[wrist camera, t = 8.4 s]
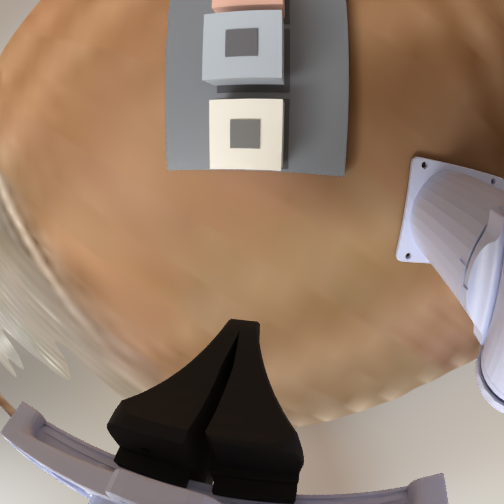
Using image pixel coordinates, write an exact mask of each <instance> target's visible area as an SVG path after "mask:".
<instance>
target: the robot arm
mask: <svg viewBox="0 0 504 504" xmlns="http://www.w3.org/2000/svg"><path fill="white" fill-rule="evenodd" d="M423 162H425V164H426V165H425V167H424V168H422V163H423ZM492 179H493V182H492V183H491V180H492ZM407 253H410V255H409V256H408V257H405V256H406V254H407ZM396 258H397V259H398V260H399V261H404V262H418V263H431V264H432V266H433V267H434V268H435V269H436V271H437V272H438V273H439V275H440V276H441V277H442V279H443V280H444V281H445V283H446V284H447V285H448V287H449V288H450V289H451V291H452V292H453V293H454V295H455V296H456V298H457V299H458V300H459V302H460V303H461V305H462V306H463V308H464V309H465V311H466V312H467V313H468V315H469V317H470V318H471V320H472V321H473V323H474V330H473V332H474V334H475V335H476V337H477V339H478V340H479V342H480V344H481V345H482V347H481V349H480V352H479V355H478V357H477V361H476V380H477V383H478V387H479V389H480V391H481V393H482V395H483V396H484V398H485V399H486V401H487V402H488V403H489V404H490V405H491V406H493V407H494V408H495V409H497V410H498V411H500V412H502V413H504V179H503V178H501V177H498V176H495V175H491V174H488V173H484V172H481V171H477V170H474V169H470V168H466V167H462V166H458V165H454V164H450V163H446V162H441V161H437V160H432V159H427V158H422V157H414V158H413V159H412V160H411V165H410V174H409V182H408V189H407V196H406V202H405V209H404V214H403V220H402V225H401V231H400V236H399V241H398V245H397V250H396ZM259 336H260V324H259V323H258V322H255V321H245V320H236V319H230V320H229V321H228V322H227V323H226V325H225V326H224V327H223V329H222V330H221V331H220V332H219V334H218V335H217V336H216V337H215V338H214V339H213V340H212V341H211V343H210V344H209V345H208V346H207V347H206V348H205V349H204V350H203V351H202V352H201V353H200V354H199V355H198V356H197V357H196V358H194V359H193V360H192V361H191V362H190V363H189V364H187V365H186V366H185V367H184V368H182V369H181V370H180V371H178V372H177V373H176V374H174V375H173V376H171V377H170V378H168V379H167V380H165V381H163V382H162V383H160V384H158V385H156V386H154V387H153V388H151V389H149V390H147V391H145V392H143V393H140V394H138V395H135V396H133V397H130V398H128V399H125V400H122V401H121V403H120V404H119V405H118V407H117V408H116V410H115V411H114V413H113V415H112V417H111V418H110V420H109V422H108V424H107V429H108V431H109V433H110V434H111V436H112V437H113V438H114V440H115V441H116V442H117V443H118V445H119V446H120V448H119V450H118V452H117V454H116V456H115V455H113V454H110V453H108V452H106V451H103V450H101V449H99V448H97V447H94V446H92V445H90V444H88V443H86V442H84V441H82V440H80V439H78V438H76V437H74V436H72V435H70V434H68V433H67V432H65V431H63V430H61V429H59V428H57V427H56V426H54V425H52V424H51V423H49V422H47V421H46V420H45V418H44V417H43V416H42V415H41V413H40V412H38V411H37V410H36V409H34V408H33V407H31V406H30V405H28V404H27V403H25V402H22V403H21V404H20V405H19V407H18V408H17V409H16V411H15V412H14V414H13V415H12V416H11V418H10V419H9V421H8V422H7V424H6V425H5V427H4V428H3V429H2V431H1V432H0V433H1V435H2V436H3V437H4V438H5V439H6V440H7V441H8V442H9V443H10V444H11V445H12V446H13V447H15V448H16V449H17V450H18V451H19V452H20V453H21V454H22V455H23V456H25V457H26V458H27V459H28V460H30V461H31V462H32V463H34V464H35V465H36V466H38V467H39V468H41V469H42V470H44V471H45V472H46V473H48V474H49V475H51V476H52V477H54V478H56V479H57V480H58V481H60V482H61V483H63V484H65V485H66V486H68V487H70V488H71V489H73V490H75V491H76V492H78V493H80V494H81V495H83V496H85V497H87V498H89V499H90V501H89V503H88V504H448V498H447V491H446V485H445V479H444V474H443V473H440V474H436V475H432V476H428V477H424V478H420V479H417V480H414V481H413V482H411V483H410V484H409V485H408V486H405V487H400V488H394V489H388V490H381V491H373V492H365V493H353V494H335V495H296V492H297V484H298V481H299V473H300V471H301V468H302V466H303V463H304V456H303V450H302V447H301V444H300V440H299V437H298V434H297V432H296V431H295V429H294V428H293V426H292V425H291V423H290V422H289V420H288V419H287V417H286V415H285V414H284V412H283V410H282V408H281V406H280V404H279V402H278V400H277V398H276V396H275V394H274V392H273V390H272V387H271V385H270V382H269V379H268V377H267V374H266V370H265V367H264V363H263V359H262V355H261V349H260V343H259ZM213 482H214V484H213ZM212 484H213V485H212Z"/></svg>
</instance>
